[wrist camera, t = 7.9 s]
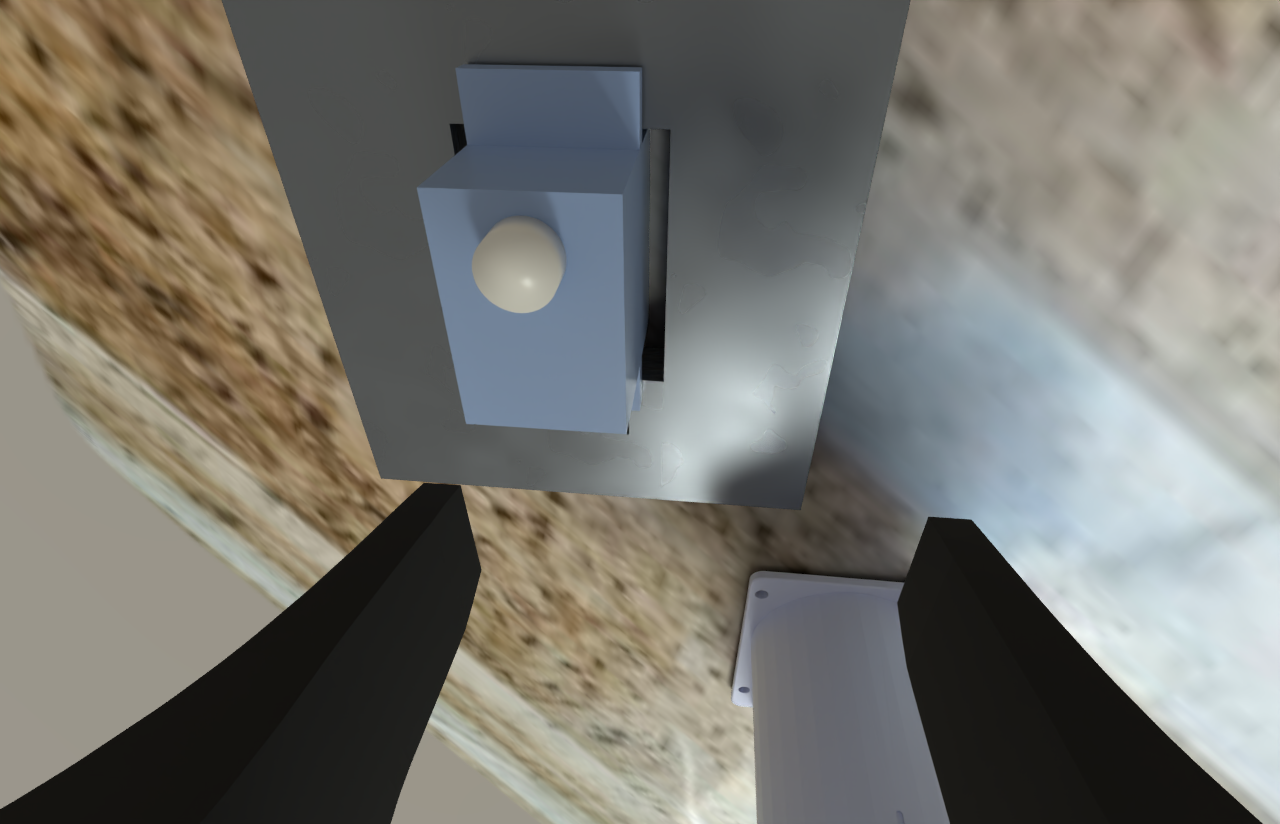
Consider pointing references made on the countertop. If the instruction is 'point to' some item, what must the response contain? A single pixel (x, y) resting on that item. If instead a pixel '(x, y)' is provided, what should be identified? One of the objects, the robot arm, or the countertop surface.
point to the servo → (545, 246)
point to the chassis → (697, 219)
